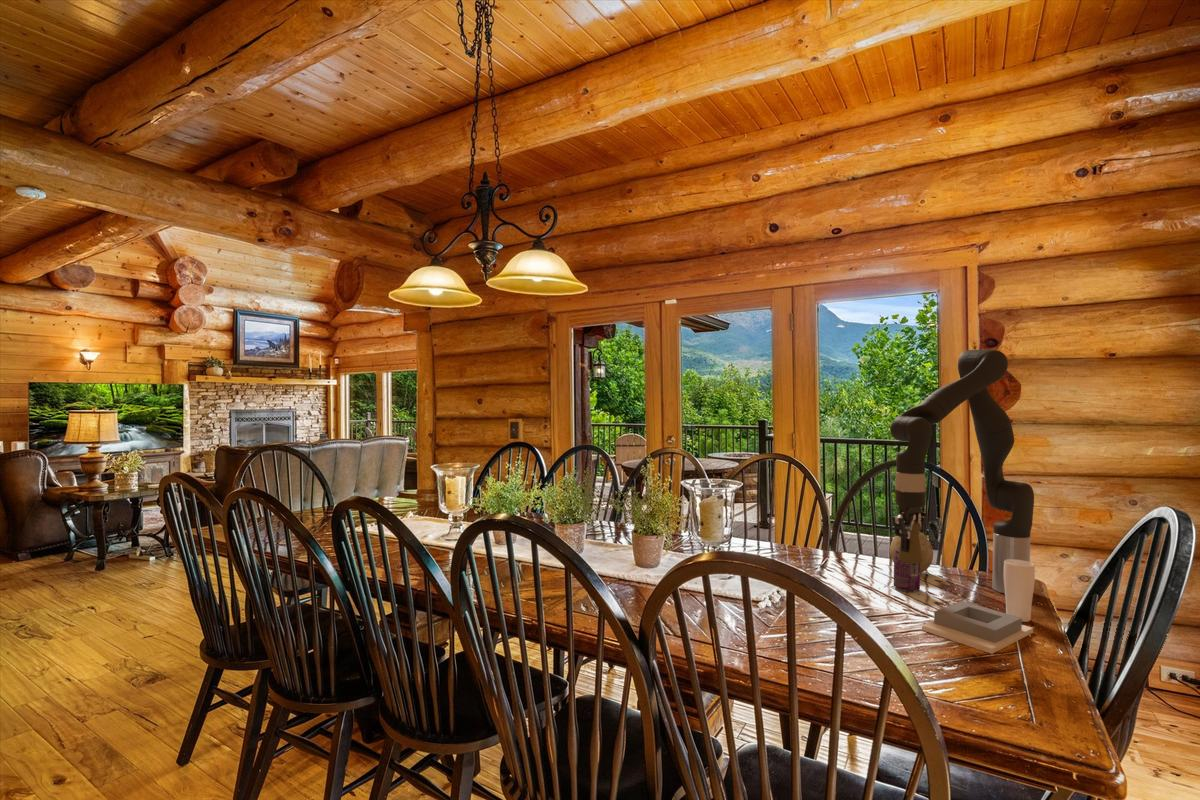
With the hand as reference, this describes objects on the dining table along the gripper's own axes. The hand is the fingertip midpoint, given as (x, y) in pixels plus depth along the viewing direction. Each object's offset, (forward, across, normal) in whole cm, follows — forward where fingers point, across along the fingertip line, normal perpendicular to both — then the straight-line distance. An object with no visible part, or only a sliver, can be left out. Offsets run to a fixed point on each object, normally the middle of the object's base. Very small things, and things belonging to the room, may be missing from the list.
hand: (909, 550), depth 164 cm
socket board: (+16, +1, +18) cm, 24 cm away
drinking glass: (+17, -17, +20) cm, 31 cm away
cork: (+3, 0, 0) cm, 3 cm away
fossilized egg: (+17, -32, -17) cm, 40 cm away
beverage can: (+17, -15, -9) cm, 24 cm away
